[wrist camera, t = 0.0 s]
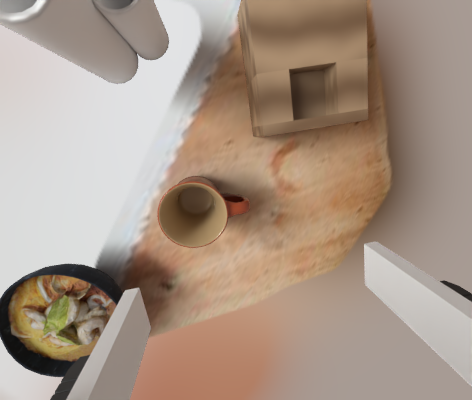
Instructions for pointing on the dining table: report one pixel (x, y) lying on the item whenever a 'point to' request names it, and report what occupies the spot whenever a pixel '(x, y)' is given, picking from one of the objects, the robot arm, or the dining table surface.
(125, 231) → the dining table surface
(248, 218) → the dining table surface
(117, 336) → the robot arm
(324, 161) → the dining table surface
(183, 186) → the mug
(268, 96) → the dock
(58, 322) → the bowl
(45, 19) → the vase
